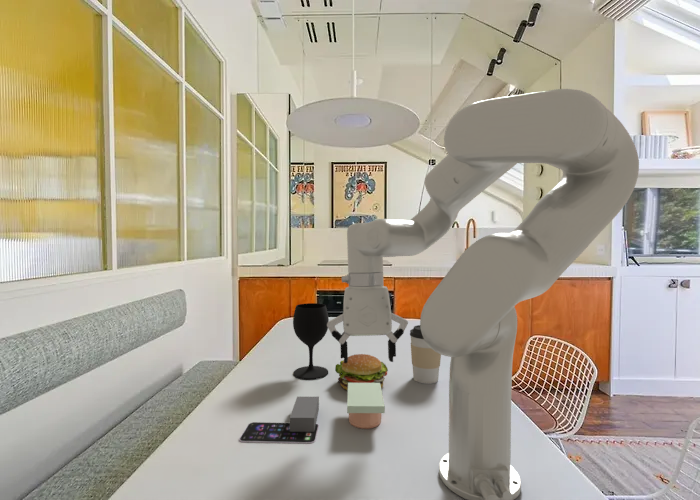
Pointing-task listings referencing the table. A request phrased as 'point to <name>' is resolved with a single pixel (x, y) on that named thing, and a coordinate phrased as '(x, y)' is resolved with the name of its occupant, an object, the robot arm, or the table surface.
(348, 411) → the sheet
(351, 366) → the food
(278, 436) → the smartphone
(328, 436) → the table surface
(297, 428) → the tall grey rectangular block
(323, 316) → the wine glass
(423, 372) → the coffee cup
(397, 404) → the table surface
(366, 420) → the ramekin
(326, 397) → the table surface
